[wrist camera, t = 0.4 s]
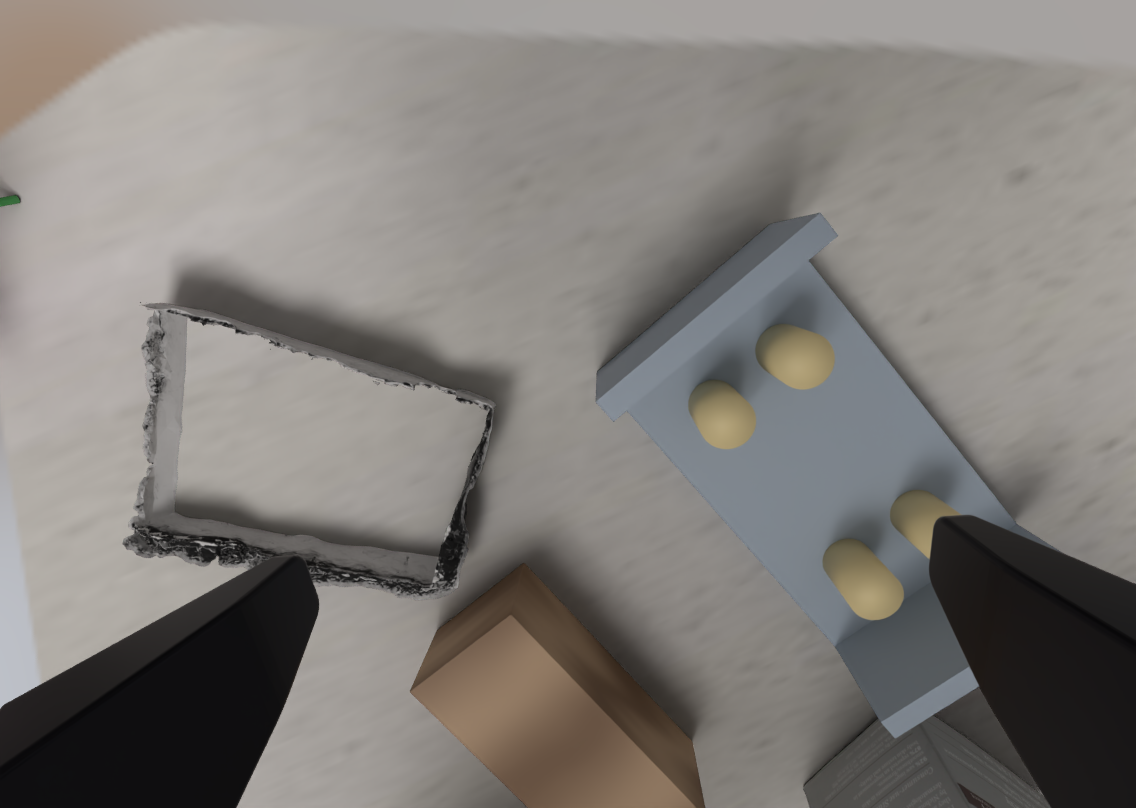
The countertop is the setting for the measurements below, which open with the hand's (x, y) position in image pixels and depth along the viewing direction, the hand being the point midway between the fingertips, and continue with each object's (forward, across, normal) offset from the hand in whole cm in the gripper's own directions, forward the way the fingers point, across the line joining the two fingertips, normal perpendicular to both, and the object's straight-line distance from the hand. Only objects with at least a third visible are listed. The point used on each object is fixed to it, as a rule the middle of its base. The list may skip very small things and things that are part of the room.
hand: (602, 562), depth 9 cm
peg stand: (+14, -7, +6) cm, 17 cm away
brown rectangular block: (+12, +4, +15) cm, 20 cm away
